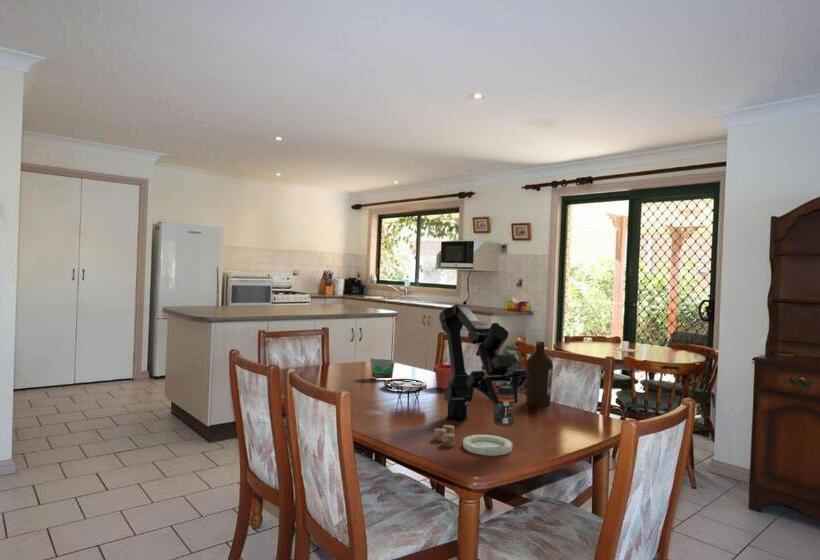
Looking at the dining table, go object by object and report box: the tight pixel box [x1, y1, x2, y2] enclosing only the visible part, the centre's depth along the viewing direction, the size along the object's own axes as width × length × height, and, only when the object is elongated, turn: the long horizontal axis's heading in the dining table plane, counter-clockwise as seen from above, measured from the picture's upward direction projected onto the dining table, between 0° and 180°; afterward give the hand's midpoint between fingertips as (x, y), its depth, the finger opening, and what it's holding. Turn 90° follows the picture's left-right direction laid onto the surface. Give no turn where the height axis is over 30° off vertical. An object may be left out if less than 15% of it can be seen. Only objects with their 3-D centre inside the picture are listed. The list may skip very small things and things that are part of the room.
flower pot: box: [434, 364, 452, 390], centre depth 245 cm, size 11×11×10 cm
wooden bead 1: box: [433, 427, 446, 442], centre depth 167 cm, size 4×4×3 cm
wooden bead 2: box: [442, 424, 455, 435], centre depth 171 cm, size 4×4×3 cm
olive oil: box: [525, 340, 554, 407], centre depth 221 cm, size 11×11×25 cm
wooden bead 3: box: [442, 433, 456, 448], centre depth 162 cm, size 4×4×3 cm
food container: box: [369, 356, 396, 379], centre depth 259 cm, size 12×6×10 cm, turn 81°
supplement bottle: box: [493, 384, 516, 428], centre depth 162 cm, size 6×6×11 cm
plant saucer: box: [382, 378, 425, 390], centre depth 240 cm, size 18×18×3 cm
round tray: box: [462, 434, 513, 457], centre depth 161 cm, size 14×14×2 cm
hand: (506, 403), depth 161 cm, fingers closed on supplement bottle, 6 cm apart
